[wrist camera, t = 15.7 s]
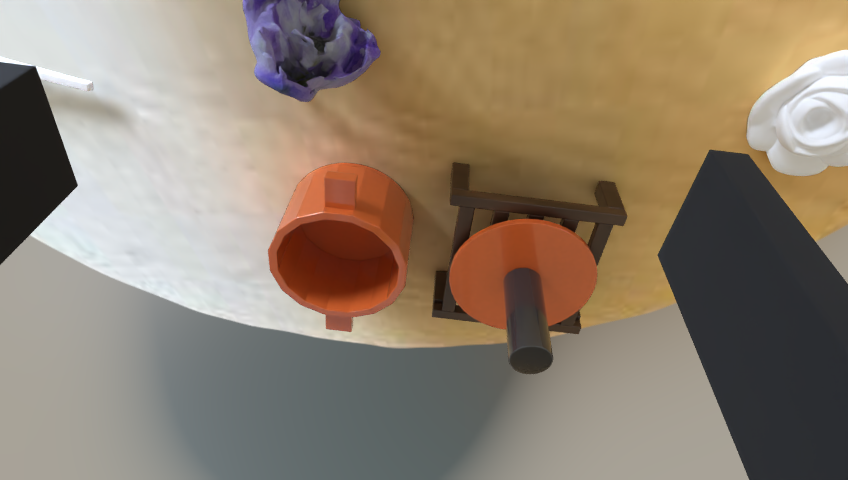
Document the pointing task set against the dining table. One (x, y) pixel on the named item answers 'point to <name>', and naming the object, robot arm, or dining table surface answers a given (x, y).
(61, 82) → the cooking utensil
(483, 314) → the lid
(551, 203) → the rack
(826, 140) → the rose
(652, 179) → the dining table surface
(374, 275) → the pot
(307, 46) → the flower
